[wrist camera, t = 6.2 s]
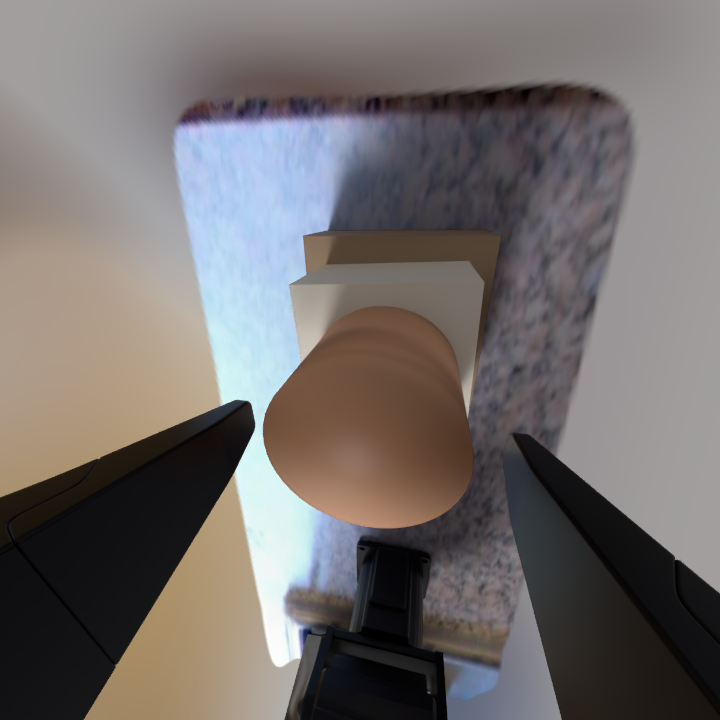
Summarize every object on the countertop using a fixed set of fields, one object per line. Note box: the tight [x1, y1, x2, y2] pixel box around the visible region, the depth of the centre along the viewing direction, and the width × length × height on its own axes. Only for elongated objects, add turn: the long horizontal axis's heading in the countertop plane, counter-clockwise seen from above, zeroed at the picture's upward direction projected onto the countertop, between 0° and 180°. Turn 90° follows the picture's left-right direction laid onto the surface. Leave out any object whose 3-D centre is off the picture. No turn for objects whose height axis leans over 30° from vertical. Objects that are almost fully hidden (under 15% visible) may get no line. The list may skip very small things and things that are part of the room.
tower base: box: [303, 230, 501, 408], centre depth 16 cm, size 8×8×4 cm
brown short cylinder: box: [263, 306, 474, 528], centre depth 9 cm, size 5×5×4 cm
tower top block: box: [289, 261, 485, 419], centre depth 12 cm, size 6×6×4 cm
